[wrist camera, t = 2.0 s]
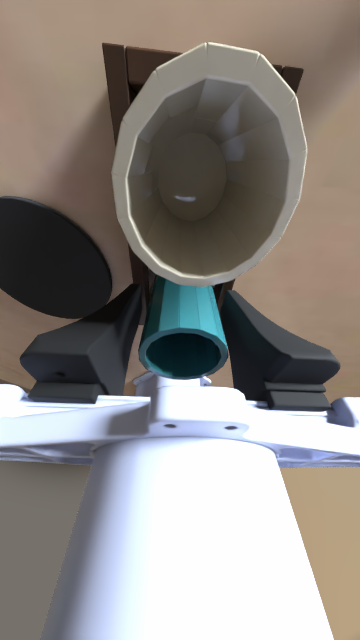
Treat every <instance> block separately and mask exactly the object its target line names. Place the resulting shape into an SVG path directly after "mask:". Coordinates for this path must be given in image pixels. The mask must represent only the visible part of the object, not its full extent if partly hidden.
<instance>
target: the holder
mask: <svg viewBox="0 0 360 640" xmlns="http://www.w3.org/2000/svg"><path fill="white" fill-rule="evenodd" d="M102 47H103V55H104V63H105V70H106V78H107V86H108V93H109V101H110V109H111V116H112V124H113V131H114V139H115V147H116V145H117V140H118V135H119V130H120V125H121V121H123V116H124V115H125V113H126V112H127V110H128V109H129V107H130V106H131V104H132V103H133V101H134V99H135V98H136V96H137V95H138V93H139V92H140V90H141V89H142V87H143V86H144V84H145V83H146V81H147V80H148V78H149V76H150V75H151V73H152V72H153V71H154V70H155V71H156V68H157V67H159V66H160V65H162V64H164V63H166V62H168V61H170V60H172V59H174V58H176V57H177V56H179V55H181V54H183V53H178V52H170V51H163V50H155V49H147V48H139V47H131V46H127V47H126V48H125V46H124V45H118V44H110V43H102ZM271 65H272V66H273V67H274V69H275V70H276V71H277V72H278V73H279V75H280V76H281V77H282V78H283V79H284V81H285V82H286V83H287V84H288V85H289V87H290V88H291V89H292V90H293V91H294V92H295V96H296V93H297V90H298V87H299V83H300V80H301V77H302V74H303V69H302V68H296V67H288V66H285V67H283V68H282V66H280V65H273V64H271ZM128 246H129V254H130V261H131V269H132V277H133V284H140V287H141V297H142V313H141V318H140V322H139V325H144V323H145V319H146V314H147V310H148V306H149V301H150V288H149V271H148V266H147V265H146V264H145V263H144V262H143V261H142V260H141V259H140V258H139V257H138V256H137V255H136V254H135V253H134V252H133V251H132V249H131V247H130V245H129V243H128ZM234 281H235V279H233V280H230V281H228V282H224V283H220V284H216V285H215V286H214V291H213V292H214V296H215V300H216V304H217V308H218V312H219V316H220V310H221V306H222V303H223V300H224V297H225V293H226V290H232V288H233V285H234ZM220 320H221V317H220Z"/></svg>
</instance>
